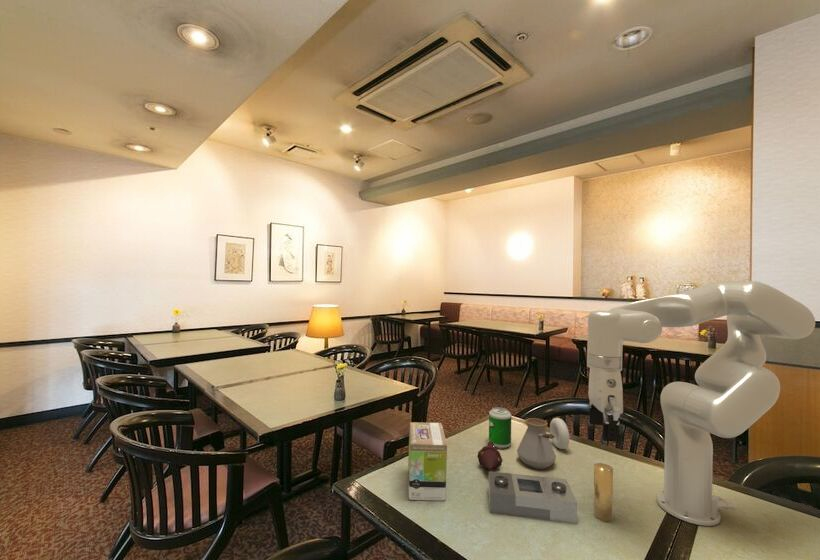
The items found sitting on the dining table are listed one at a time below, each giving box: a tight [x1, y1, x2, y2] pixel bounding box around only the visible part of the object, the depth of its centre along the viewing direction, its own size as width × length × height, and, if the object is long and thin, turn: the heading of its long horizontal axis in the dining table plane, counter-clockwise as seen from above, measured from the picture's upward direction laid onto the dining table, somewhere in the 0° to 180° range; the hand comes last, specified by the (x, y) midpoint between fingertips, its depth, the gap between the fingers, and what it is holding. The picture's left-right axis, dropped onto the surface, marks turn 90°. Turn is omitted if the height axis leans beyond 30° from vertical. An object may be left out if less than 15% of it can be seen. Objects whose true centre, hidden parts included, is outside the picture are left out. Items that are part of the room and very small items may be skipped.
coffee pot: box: [516, 417, 558, 470], centre depth 107 cm, size 21×12×15 cm, turn 177°
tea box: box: [407, 421, 448, 501], centre depth 99 cm, size 15×10×15 cm
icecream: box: [477, 440, 503, 471], centre depth 108 cm, size 7×7×15 cm
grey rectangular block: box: [487, 470, 578, 524], centre depth 91 cm, size 20×10×6 cm, turn 80°
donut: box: [549, 417, 571, 450], centre depth 122 cm, size 10×4×10 cm, turn 4°
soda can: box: [488, 407, 512, 450], centre depth 124 cm, size 8×8×12 cm
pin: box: [593, 462, 614, 523], centre depth 87 cm, size 4×4×12 cm
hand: (602, 432), depth 87 cm, fingers open, 9 cm apart
